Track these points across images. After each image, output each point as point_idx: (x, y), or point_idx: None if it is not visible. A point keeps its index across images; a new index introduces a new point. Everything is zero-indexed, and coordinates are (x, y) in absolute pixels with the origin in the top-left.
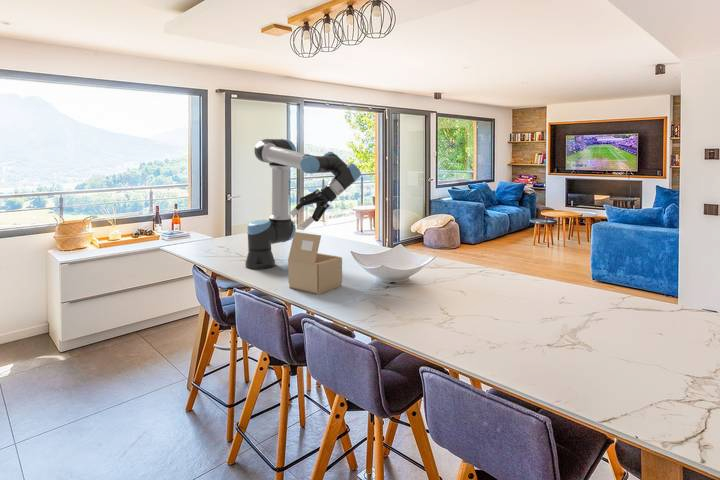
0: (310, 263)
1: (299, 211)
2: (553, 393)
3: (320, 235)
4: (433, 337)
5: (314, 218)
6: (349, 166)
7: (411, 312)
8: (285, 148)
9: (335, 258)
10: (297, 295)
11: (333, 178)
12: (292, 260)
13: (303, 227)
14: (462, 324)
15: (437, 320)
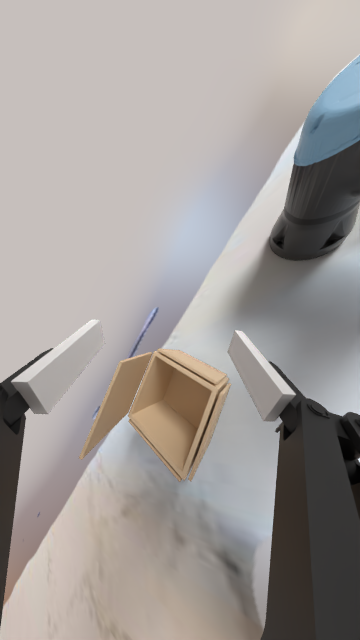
0: (134, 401)
1: (77, 372)
2: (11, 611)
3: (79, 457)
4: (69, 548)
5: (288, 427)
6: None
7: (116, 554)
8: None
9: (169, 460)
10: None
11: None
12: (151, 360)
13: (230, 350)
14: (86, 630)
15: (96, 588)
